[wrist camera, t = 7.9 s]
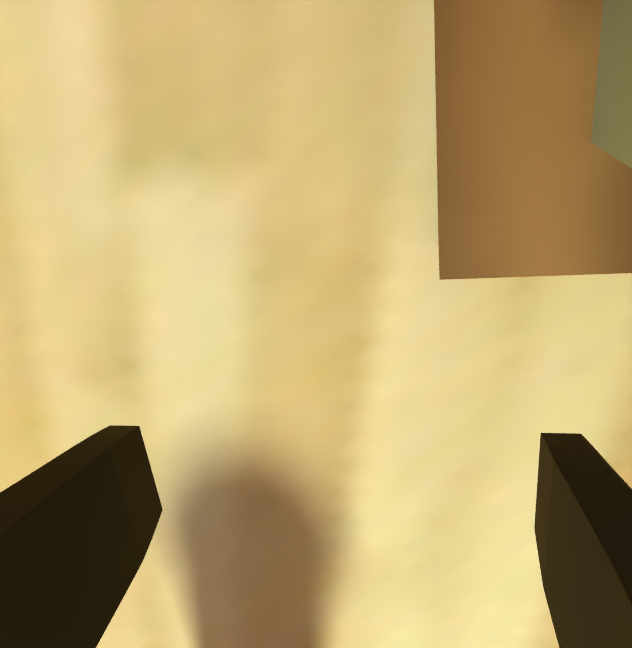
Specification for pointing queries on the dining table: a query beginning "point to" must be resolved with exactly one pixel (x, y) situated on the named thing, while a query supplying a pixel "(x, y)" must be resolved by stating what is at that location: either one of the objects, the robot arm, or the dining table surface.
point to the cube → (614, 82)
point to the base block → (524, 143)
